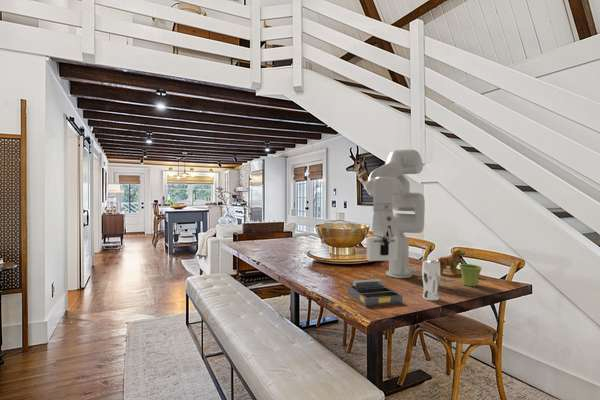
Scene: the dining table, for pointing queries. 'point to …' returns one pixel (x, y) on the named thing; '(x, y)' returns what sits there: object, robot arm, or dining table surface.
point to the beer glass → (430, 279)
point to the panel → (375, 249)
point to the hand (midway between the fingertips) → (382, 253)
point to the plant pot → (470, 274)
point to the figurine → (451, 261)
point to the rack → (373, 293)
